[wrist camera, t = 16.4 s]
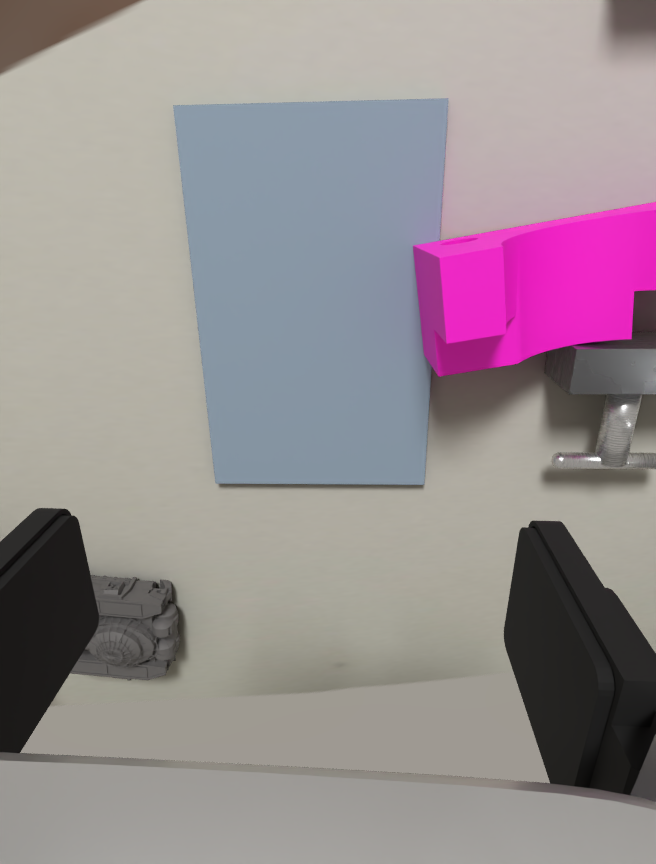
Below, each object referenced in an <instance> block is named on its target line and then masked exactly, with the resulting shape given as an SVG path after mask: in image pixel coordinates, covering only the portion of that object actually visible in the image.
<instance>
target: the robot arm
mask: <svg viewBox="0 0 656 864" xmlns="http://www.w3.org/2000/svg"><path fill="white" fill-rule="evenodd" d="M98 623H99V612H98V607H97V603H96V598H95V594H94V589H93V585H92V580H91V576H90V571H89V566H88V562H87V557H86V553H85V548H84V544H83V539H82V535H81V530H80V525H79V522H78V519H77V518H76V517H75V516H71V513H70V512H69V511H68V510H67V509H53V508H39V509H36V510H35V511H33V512H32V513H31V514H30V515H29V516H28V517H27V518H26V519H25V520H24V521H22V522H21V523H20V524H19V525H18V526H17V527H16V528H15V529H14V530H13V531H12V532H10V533H9V534H8V535H7V536H6V537H5V538H4V539H3V540H2V541H1V542H0V864H656V653H655V652H654V650H653V649H652V647H651V646H650V644H649V643H648V641H647V640H646V638H645V637H644V635H643V634H642V632H641V631H640V629H639V628H638V626H637V625H636V623H635V622H634V620H633V619H632V617H631V616H630V614H629V613H628V611H627V610H626V608H625V607H624V605H623V604H622V602H621V601H620V599H619V598H618V596H617V595H616V594H615V593H614V592H613V590H611V589H609V588H604V586H603V584H602V583H601V581H600V580H599V578H598V577H597V575H596V574H595V572H594V570H593V569H592V567H591V566H590V564H589V563H588V561H587V560H586V558H585V556H584V555H583V553H582V552H581V550H580V549H579V547H578V546H577V544H576V543H575V541H574V539H573V538H572V536H571V535H570V533H569V532H568V530H567V529H566V527H565V525H564V524H563V523H562V522H559V521H531V522H530V524H529V527H528V528H521V530H520V533H519V538H518V544H517V551H516V557H515V563H514V570H513V576H512V582H511V589H510V595H509V601H508V608H507V614H506V620H505V627H504V642H505V647H506V650H507V653H508V656H509V659H510V662H511V666H512V669H513V672H514V675H515V678H516V680H517V684H518V687H519V690H520V693H521V696H522V699H523V702H524V705H525V708H526V711H527V714H528V717H529V720H530V723H531V726H532V729H533V732H534V735H535V738H536V741H537V744H538V747H539V750H540V753H541V756H542V759H543V762H544V765H545V768H546V772H547V775H548V778H549V780H550V783H539V782H527V781H513V780H499V779H487V778H473V777H460V776H459V777H458V776H446V775H429V774H411V773H395V772H377V771H360V770H343V769H324V768H308V767H289V766H270V765H252V764H233V763H214V762H195V761H175V760H154V759H136V758H135V759H134V758H114V757H92V756H71V755H49V754H27V753H20V752H21V750H22V748H23V747H24V745H25V744H26V742H27V741H28V739H29V737H30V736H31V734H32V733H33V731H34V729H35V728H36V726H37V725H38V723H39V721H40V720H41V718H42V717H43V715H44V713H45V712H46V710H47V708H48V707H49V706H50V704H51V702H52V701H53V699H54V698H55V696H56V694H57V693H58V691H59V690H60V688H61V686H62V685H63V683H64V682H65V680H66V678H67V677H68V675H69V674H70V672H71V670H72V669H73V667H74V666H75V664H76V663H77V661H78V659H79V658H80V656H81V655H82V653H83V651H84V650H85V648H86V647H87V645H88V643H89V642H90V640H91V639H92V637H93V635H94V634H95V632H96V630H97V627H98Z"/></svg>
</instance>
